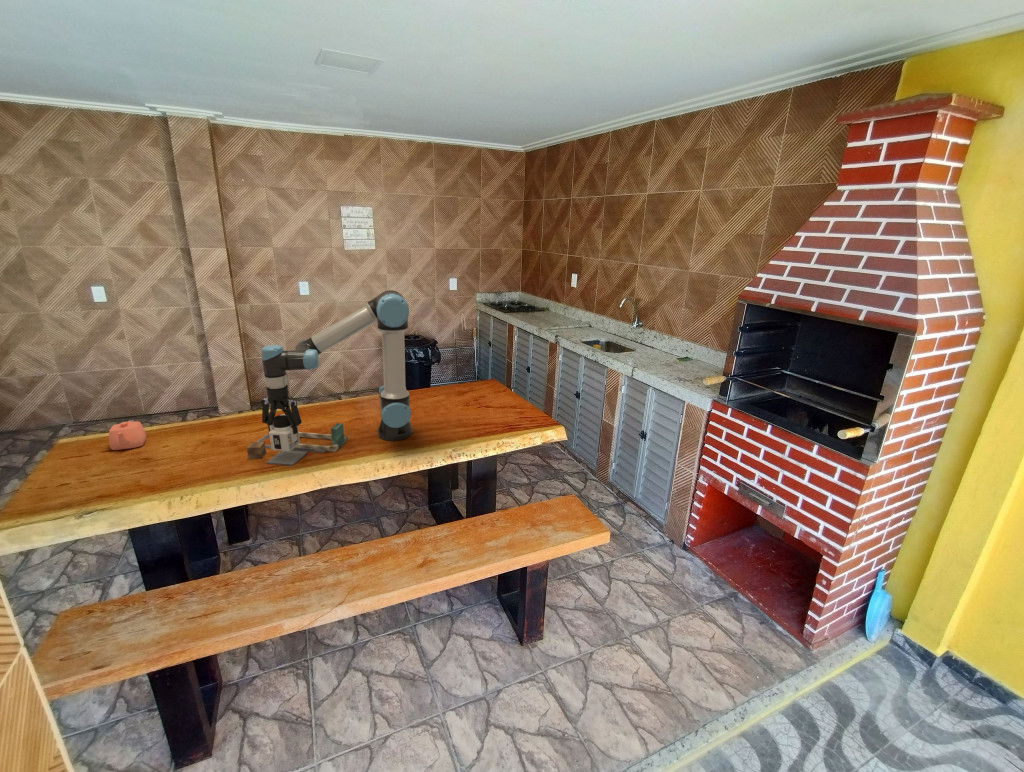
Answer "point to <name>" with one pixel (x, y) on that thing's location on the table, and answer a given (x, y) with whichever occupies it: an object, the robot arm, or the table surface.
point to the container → (282, 434)
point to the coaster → (286, 458)
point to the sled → (335, 436)
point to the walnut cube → (256, 450)
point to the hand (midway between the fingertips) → (284, 440)
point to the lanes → (294, 447)
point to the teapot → (126, 435)
